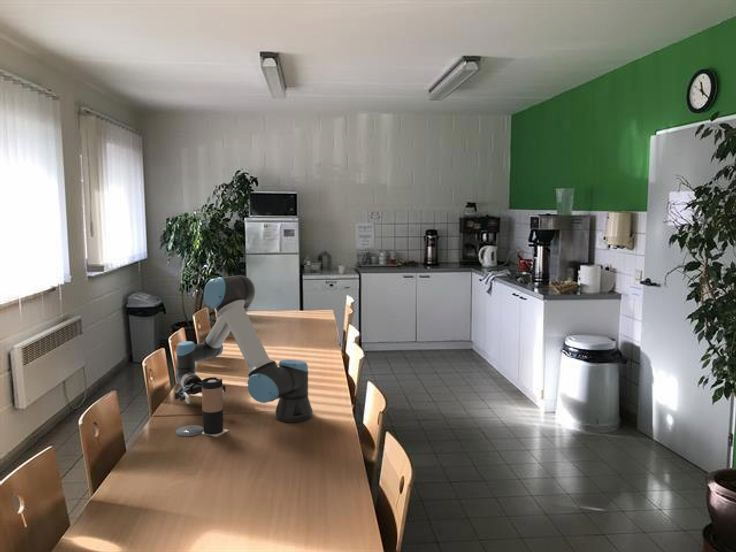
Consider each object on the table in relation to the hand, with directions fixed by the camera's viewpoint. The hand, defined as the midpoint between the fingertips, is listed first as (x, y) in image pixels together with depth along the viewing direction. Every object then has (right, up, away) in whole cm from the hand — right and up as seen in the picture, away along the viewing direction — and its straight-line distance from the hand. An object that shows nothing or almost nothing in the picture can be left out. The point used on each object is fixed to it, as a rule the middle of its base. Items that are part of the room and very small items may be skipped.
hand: (206, 397), depth 230 cm
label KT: (+4, -12, -6) cm, 14 cm away
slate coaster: (-4, -12, -6) cm, 14 cm away
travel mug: (+4, -12, -6) cm, 14 cm away
